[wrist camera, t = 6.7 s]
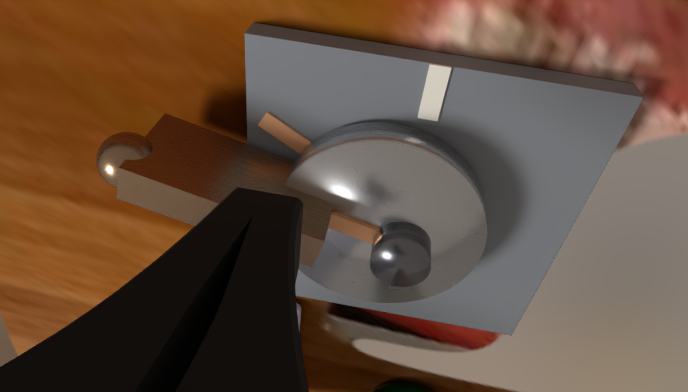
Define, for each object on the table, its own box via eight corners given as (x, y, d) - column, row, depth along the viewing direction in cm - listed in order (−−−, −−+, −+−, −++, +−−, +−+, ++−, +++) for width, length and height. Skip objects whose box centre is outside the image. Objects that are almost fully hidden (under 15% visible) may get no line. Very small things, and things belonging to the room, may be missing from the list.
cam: (526, 171, 18) (542, 238, 15) (427, 298, 23) (426, 365, 20) (140, 18, 16) (80, 63, 13) (126, 191, 21) (81, 248, 18)
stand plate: (509, 318, 25) (511, 337, 24) (256, 272, 25) (250, 289, 24) (634, 83, 16) (645, 99, 15) (253, 22, 17) (243, 34, 16)
